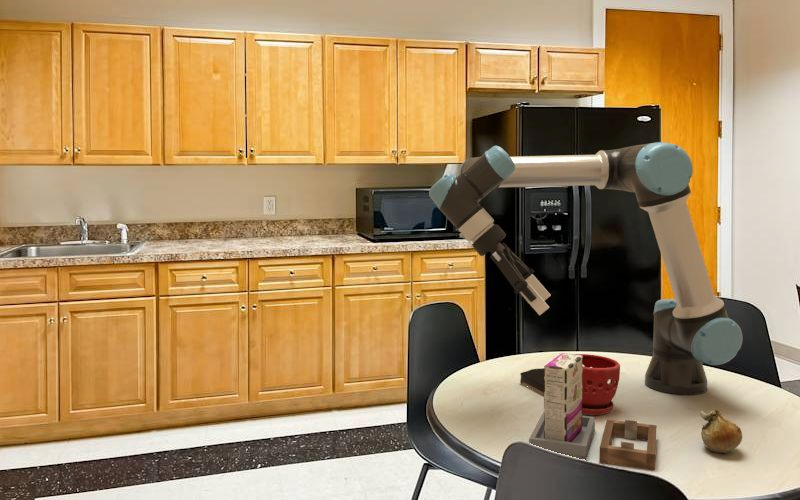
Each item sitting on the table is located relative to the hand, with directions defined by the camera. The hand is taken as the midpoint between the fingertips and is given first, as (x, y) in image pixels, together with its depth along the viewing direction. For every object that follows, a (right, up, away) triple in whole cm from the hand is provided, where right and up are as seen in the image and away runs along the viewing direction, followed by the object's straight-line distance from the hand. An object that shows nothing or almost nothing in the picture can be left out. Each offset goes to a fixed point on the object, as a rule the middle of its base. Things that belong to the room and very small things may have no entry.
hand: (545, 305), depth 150 cm
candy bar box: (+1, -27, -10) cm, 29 cm away
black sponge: (+6, -24, +24) cm, 35 cm away
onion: (+32, -28, -16) cm, 45 cm away
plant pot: (+12, -26, +9) cm, 30 cm away
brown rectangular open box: (+14, -28, -15) cm, 35 cm away
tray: (+1, -28, -10) cm, 29 cm away
